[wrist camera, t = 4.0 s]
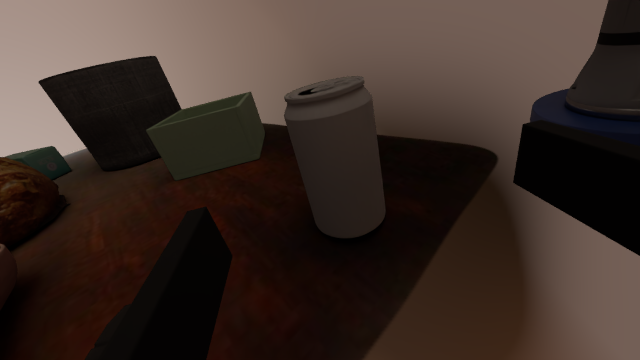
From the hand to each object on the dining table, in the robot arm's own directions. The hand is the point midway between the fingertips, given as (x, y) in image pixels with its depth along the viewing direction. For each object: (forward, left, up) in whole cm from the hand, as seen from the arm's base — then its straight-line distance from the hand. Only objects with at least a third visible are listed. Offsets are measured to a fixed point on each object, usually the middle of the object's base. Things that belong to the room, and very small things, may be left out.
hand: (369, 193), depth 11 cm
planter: (+42, -58, -9) cm, 72 cm away
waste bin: (+18, -39, -9) cm, 43 cm away
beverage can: (0, -10, -9) cm, 13 cm away
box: (+71, -57, -9) cm, 91 cm away
